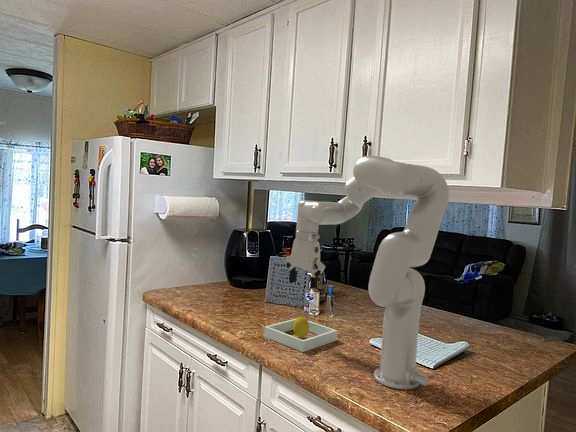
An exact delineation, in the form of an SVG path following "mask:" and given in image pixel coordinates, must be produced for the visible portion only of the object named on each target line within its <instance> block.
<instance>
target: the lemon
mask: <svg viewBox="0 0 576 432" xmlns="http://www.w3.org/2000/svg"><path fill="white" fill-rule="evenodd" d="M296 318H297V319H296ZM296 318H295V319H296V320H295V321H294V325H293V330H292V331H293V333H294V335H295V337H297V338H299V339H303V338H304V337H306V336H307V335H308V333H309V322H308V321H309V320H308V319H307V318H306V317H304V316H303V315H300V316H299V317H296Z"/></svg>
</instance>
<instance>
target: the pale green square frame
mask: <svg viewBox="0 0 576 432" xmlns="http://www.w3.org/2000/svg"><path fill="white" fill-rule="evenodd" d="M297 318H298V317H296V318H292V319H289V320H286V321H281V322H277V323H274V324H269V325H266V326H264V328H263V329H264V330H263V337H265V338H266V339H269V340H271V341H274V342H276V343H279V344H281V345H284V346H286V347H289V348H291V349H293V350H296V351H298V352H301V353H305V352H307V351H309V350H314V349H316V348H319V347H322V346H324V345H327V344H331V343H333V342H336V341H338V330H337V329H334V328H332V327H328V326H325V325H323V324H320V323H316V322H313V321H311V320H308V322H309V331H308V333H312V334H315V336H312V337H308V338H306V339H303V338H299V337H297V336H294V335H291V334H288V333H286V332H290V331H293V325H294V321H295V320H296V319H297Z"/></svg>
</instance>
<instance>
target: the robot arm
mask: <svg viewBox="0 0 576 432" xmlns="http://www.w3.org/2000/svg"><path fill="white" fill-rule="evenodd" d="M352 170H353V171H352V174H353V176H352V177H351V178H350V179H347V180H346V181H345V184H344V191H345V194H346V196H345V197H343V198H342V199H340V200H339V201H336V202H335V201H316V200H306V199H304V200H300V201H299V202H298V205H297V215H296V227H295V239H294V240H293V243H292V248H291V254H290V255H288V256H286V257H285V261H286V266H287V270H288V271H289V277H288V282H289V284H291V283H296V282H297V276H298V271H297V269H300V270H303V271H309V273H310V275H311V276H310V282H309V289H311V290H314V289H318V284H319V277H321V275H322V274H323V272H324V270H325V268H326V265H325V264H324V263H323V262H322V261H321V245H320V242H319V241H318V240H319V239H320V235H319V225H322V226H323V225H326V226H327V225H341V224H344V223H345V222H347V221H349V220H350V219H352V218H353V217H354V218H355V216H356V215H358V214H359V213H360V212H361V210H362V208H363V207H364V204H365V203H366V202H368V201H370V200H371V199H373V198H374V197H375V196H377V195H378V194H380V193H381V192H384V193H387V194H389V195H393V196H398V197H410V198H411V197H415V198H416V201H415V203H414V204H413V206H412V208H411V209H410V210H409V213H408V216H407V219H406V223H405V226H404V229H403V231H396V232H392V233H390V234H387V236H386V237H384V238H383V239H382V240H381V243H380V244H379V245H378V249H377V252H376V255H375V259H374V262H373V265H372V270H371V271H370V275H369V281H368V294H369V297H370V299H371V300H372V302H373V303H374V304H375V305H377V306H379V307H383V308H385V309H384V313H383V323H382V324H383V325H382V335H381V336H382V338H381V350H380V362H379V363H380V365H379V367H377V368H376V369H375V370H374V371H373V378H374V379H375V381H377V382H378V383H380V384H381V385H383V386H386V387H389V388H392V389H398V390H412V389H416V388H418V387H419V386H420V385H421V386H424V387H427V385H428V383H429V380H428V375H426V374H424V373H420V369H419V368H420V367H419V366H417V363H416V362H417V353H418V352H417V350H418V339H419V337H418V336H419V326H420V317H421V309H422V304H423V300H424V297H425V291H426V285H425V280H424V278H423V276H422V274H421V273H419V272H418V271H417V270H416V269H414V268H417V267H421V266H423V265H425V264H427V263H428V261H430V259H431V255H432V253H433V249H434V246H435V242H436V240H437V237H438V234H439V230H440V226H441V224H442V221H443V218H444V215H445V213H446V209H447V207H448V204H449V203H448V202H449V197H450V190H449V186H448V183H447V181H446V179H445V178H444V176H443V175H442V174H441V173H440V172H438V171H437V170H436V169H434V168H431V167H429V166H426V165H425V166H424V165H420V164H413V163H407V162H406V163H405V162H400V161H394V160H393V159H391V158H388V157H383V156H376V155H365V156H362V157H361V158H359V159H358V160H357V161H356V163H354V166H353V169H352Z"/></svg>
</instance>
